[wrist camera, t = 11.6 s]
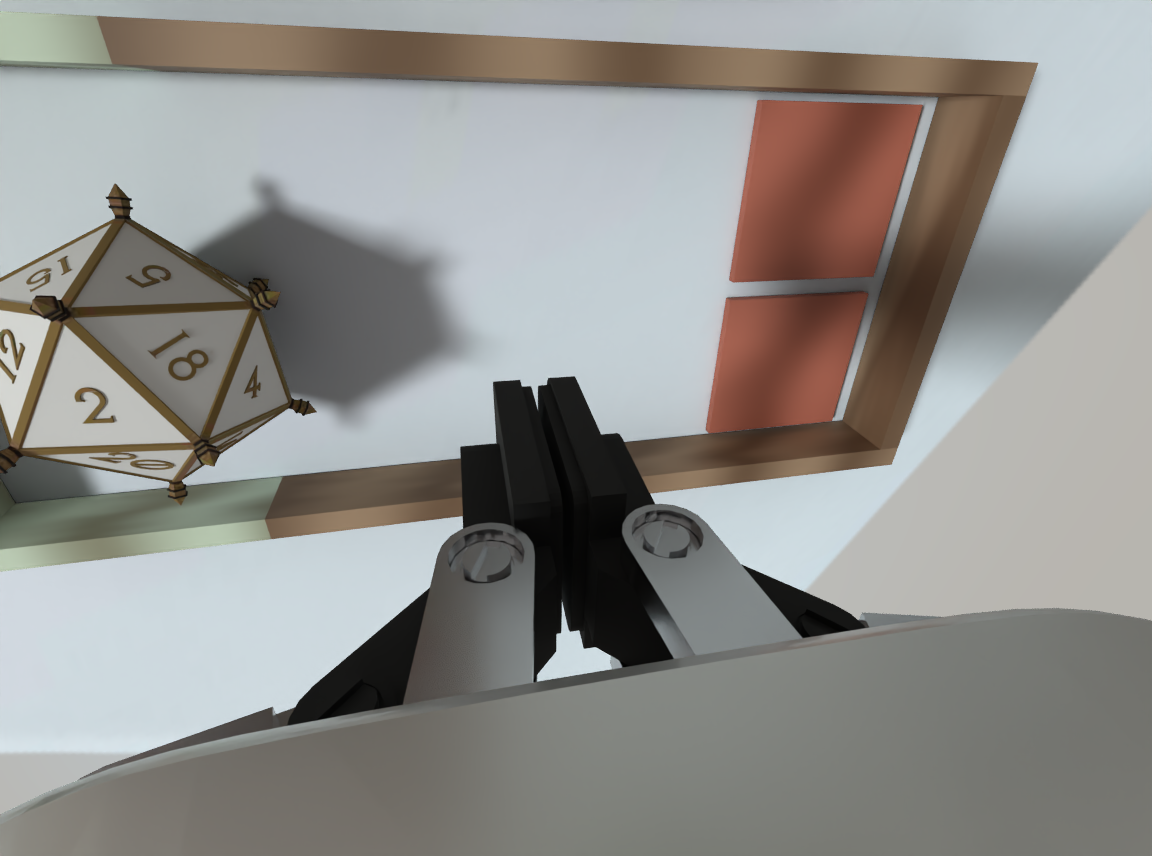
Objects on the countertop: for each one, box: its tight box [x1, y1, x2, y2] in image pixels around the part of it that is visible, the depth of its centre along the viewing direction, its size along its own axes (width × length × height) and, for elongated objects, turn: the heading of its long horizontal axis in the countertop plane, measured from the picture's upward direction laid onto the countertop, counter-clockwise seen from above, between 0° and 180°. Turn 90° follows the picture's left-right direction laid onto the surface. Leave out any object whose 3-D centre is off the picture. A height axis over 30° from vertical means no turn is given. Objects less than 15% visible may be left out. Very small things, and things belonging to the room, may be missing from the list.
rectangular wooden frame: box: [0, 11, 1038, 572], centre depth 21 cm, size 40×17×3 cm, turn 89°
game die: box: [0, 184, 317, 505], centre depth 17 cm, size 9×8×10 cm
